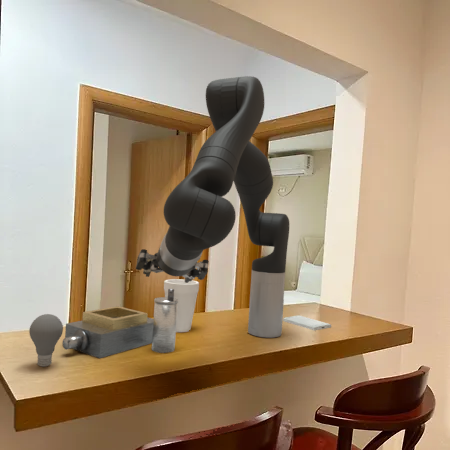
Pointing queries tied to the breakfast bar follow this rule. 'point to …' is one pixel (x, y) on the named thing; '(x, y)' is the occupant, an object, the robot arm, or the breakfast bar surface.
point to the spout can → (164, 323)
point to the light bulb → (45, 337)
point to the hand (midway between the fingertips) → (167, 275)
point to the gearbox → (109, 331)
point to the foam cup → (183, 301)
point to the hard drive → (306, 322)
